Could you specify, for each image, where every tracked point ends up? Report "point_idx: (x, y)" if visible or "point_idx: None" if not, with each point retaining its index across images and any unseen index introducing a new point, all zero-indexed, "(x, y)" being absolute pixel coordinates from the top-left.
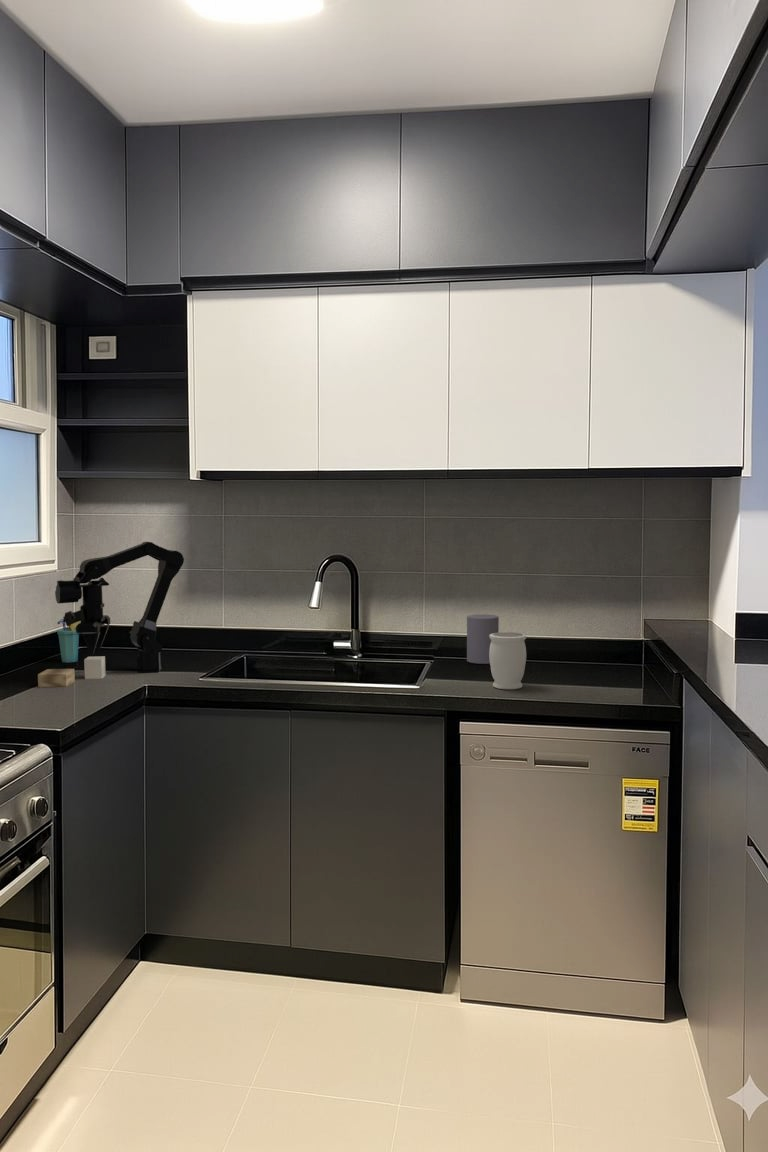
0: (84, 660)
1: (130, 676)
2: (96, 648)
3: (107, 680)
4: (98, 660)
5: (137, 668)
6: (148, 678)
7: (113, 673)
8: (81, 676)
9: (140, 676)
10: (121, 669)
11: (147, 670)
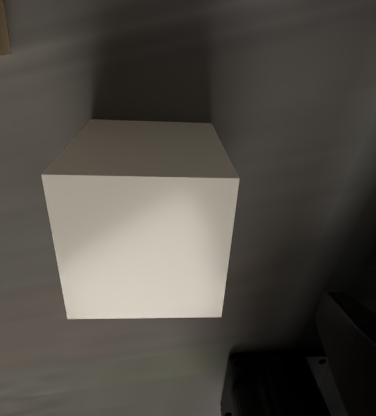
0: (46, 172)
1: (147, 337)
2: (330, 297)
3: (42, 261)
4: (68, 291)
5: (262, 361)
6: (92, 399)
7: (251, 254)
8: (194, 70)
9: (142, 370)
10: (360, 272)
11: (231, 388)
